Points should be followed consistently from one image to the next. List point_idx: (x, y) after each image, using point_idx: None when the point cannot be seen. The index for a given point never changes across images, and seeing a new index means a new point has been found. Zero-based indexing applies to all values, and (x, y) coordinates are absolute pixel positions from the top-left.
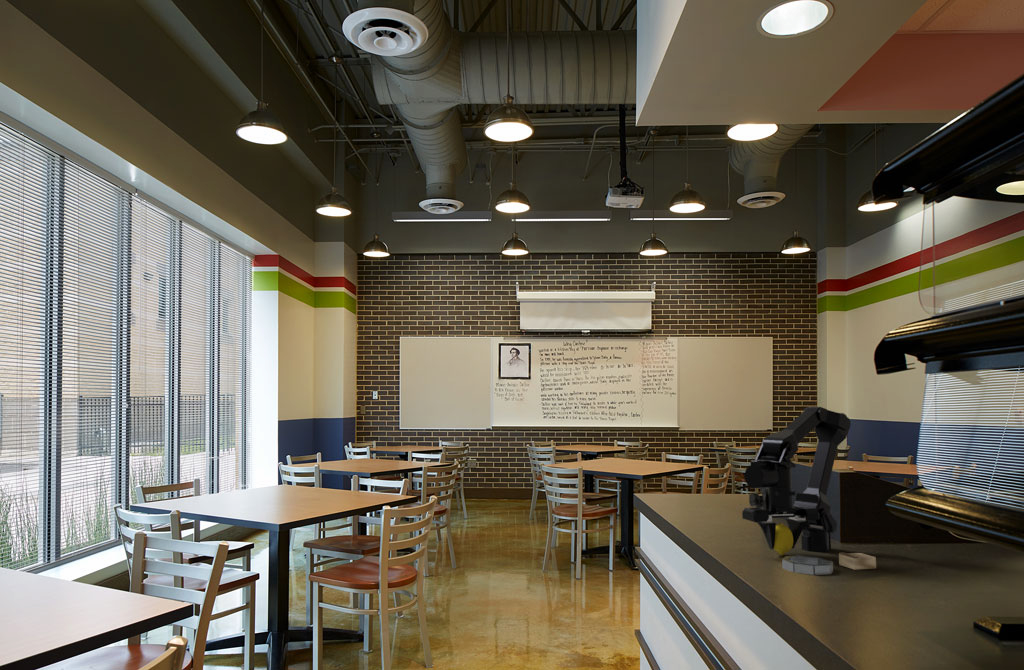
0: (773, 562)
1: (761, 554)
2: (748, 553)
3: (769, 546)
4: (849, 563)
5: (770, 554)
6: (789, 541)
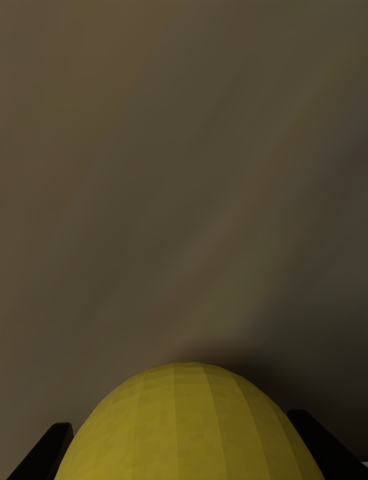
0: (70, 399)
1: (127, 132)
2: (7, 54)
3: (41, 446)
4: None
5: (216, 149)
6: None
